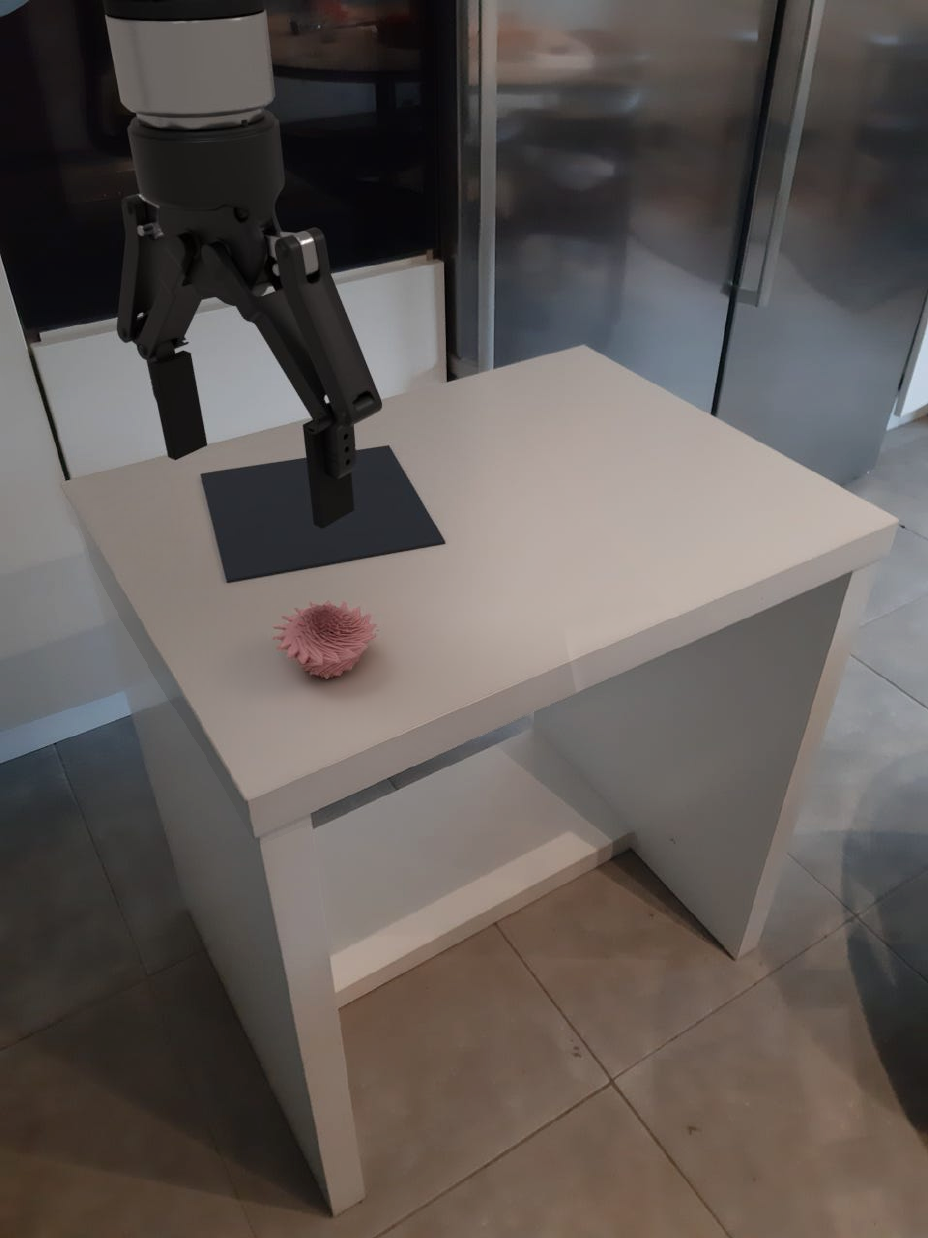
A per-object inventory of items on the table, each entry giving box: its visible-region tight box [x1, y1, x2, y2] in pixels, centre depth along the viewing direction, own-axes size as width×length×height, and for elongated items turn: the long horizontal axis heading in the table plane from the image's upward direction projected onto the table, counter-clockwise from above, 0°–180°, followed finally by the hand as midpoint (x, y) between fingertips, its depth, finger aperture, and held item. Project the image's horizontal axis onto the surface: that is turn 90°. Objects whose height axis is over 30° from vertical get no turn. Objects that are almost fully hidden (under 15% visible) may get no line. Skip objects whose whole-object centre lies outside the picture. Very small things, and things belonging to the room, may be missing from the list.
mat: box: [200, 444, 446, 584], centre depth 96 cm, size 20×20×1 cm
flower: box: [271, 599, 378, 680], centre depth 75 cm, size 8×8×6 cm
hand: (257, 483), depth 62 cm, fingers open, 13 cm apart
